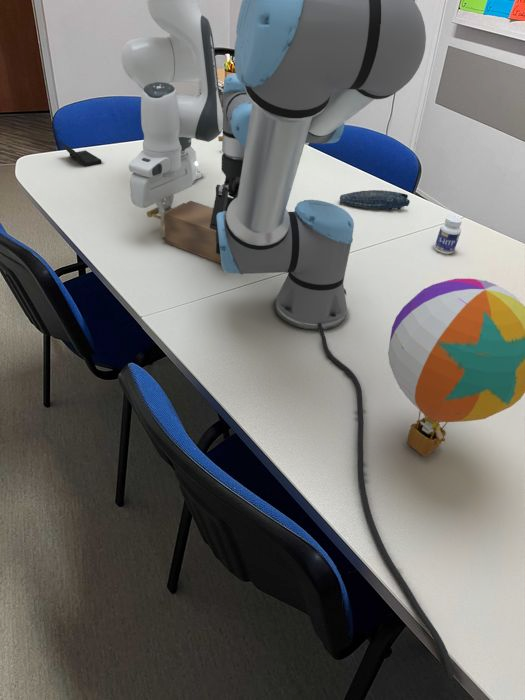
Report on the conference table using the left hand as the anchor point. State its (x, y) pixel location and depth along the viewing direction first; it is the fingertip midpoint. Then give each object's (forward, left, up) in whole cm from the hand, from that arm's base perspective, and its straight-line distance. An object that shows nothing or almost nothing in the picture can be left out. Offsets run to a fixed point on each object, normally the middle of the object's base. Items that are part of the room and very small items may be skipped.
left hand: (165, 213), depth 134 cm
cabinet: (+11, +9, -5) cm, 15 cm away
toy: (+84, +25, -5) cm, 88 cm away
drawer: (+7, +6, -4) cm, 10 cm away
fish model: (-5, +65, -5) cm, 65 cm away
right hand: (+17, +14, -2) cm, 22 cm away
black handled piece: (-55, -17, -5) cm, 58 cm away
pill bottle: (+25, +71, -5) cm, 75 cm away
